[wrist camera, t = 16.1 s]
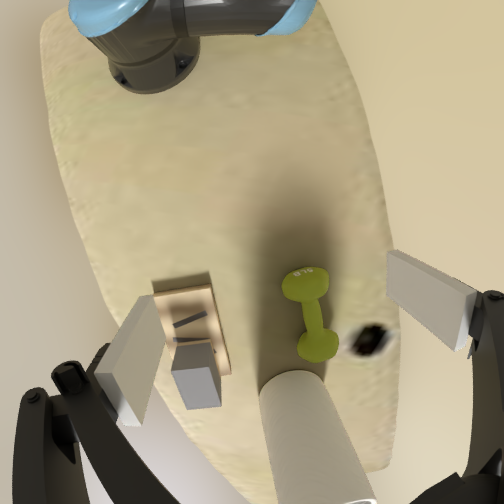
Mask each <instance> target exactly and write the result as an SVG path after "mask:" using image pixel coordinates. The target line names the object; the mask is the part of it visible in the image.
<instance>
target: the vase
mask: <svg viewBox="0 0 504 504" xmlns="http://www.w3.org/2000/svg"><path fill="white" fill-rule="evenodd" d="M259 405H260V413H261V419H262V424H263V430H264V435H265V440H266V445H267V450H268V455H269V460H270V465H271V470H272V474H273V479H274V484H275V489H276V493H277V498H278V502H279V504H376V503H377V499H376V497H375V495H374V492H373V490H372V488H371V485H370V483H369V481H368V479H367V476H366V474H365V472H364V469H363V467H362V465H361V463H360V461H359V458H358V456H357V454H356V452H355V449H354V447H353V445H352V443H351V441H350V438H349V436H348V434H347V432H346V430H345V427H344V425H343V423H342V421H341V419H340V416H339V414H338V412H337V410H336V408H335V405H334V403H333V401H332V399H331V397H330V395H329V393H328V391H327V389H326V387H325V385H324V383H323V382H322V380H321V379H320V378H319V377H318V376H317V375H316V374H314V373H312V372H309V371H304V370H294V371H288V372H285V373H282V374H279V375H277V376H275V377H274V378H272V379H271V380H269V381H268V382H267V383H266V384H265V385H264V386H263V388H262V390H261V392H260V395H259Z"/></svg>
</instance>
